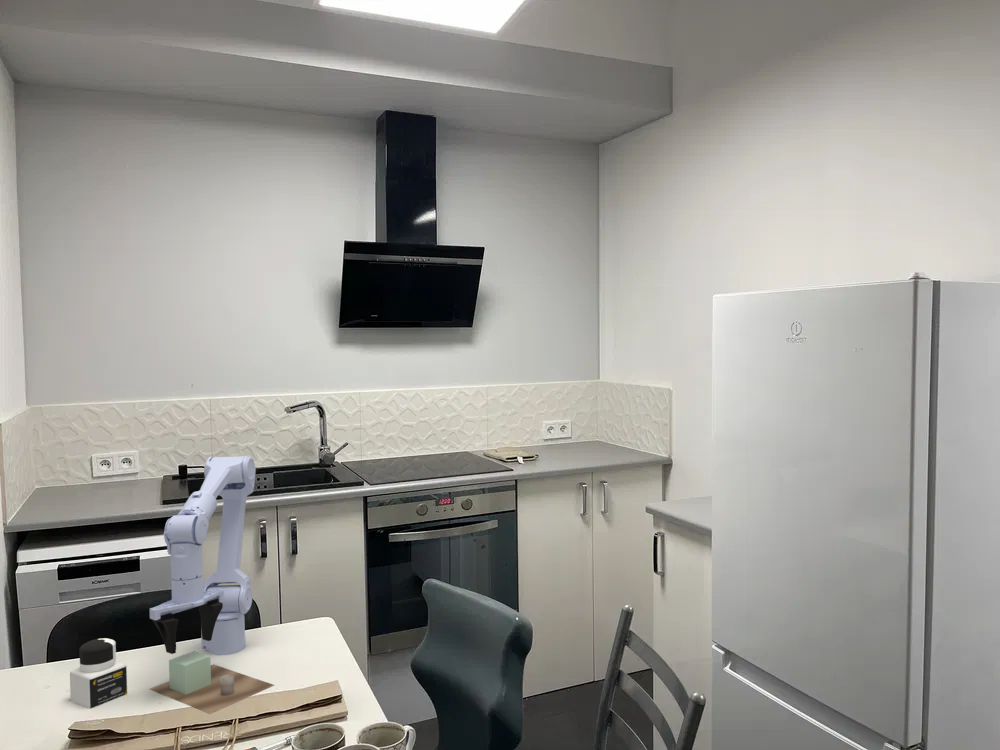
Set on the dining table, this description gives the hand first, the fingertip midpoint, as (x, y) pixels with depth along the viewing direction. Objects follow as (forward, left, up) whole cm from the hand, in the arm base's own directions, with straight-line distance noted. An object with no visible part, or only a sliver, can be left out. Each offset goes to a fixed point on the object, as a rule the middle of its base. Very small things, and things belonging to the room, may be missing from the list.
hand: (189, 646), depth 143 cm
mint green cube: (0, 0, -8) cm, 8 cm away
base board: (+4, +2, -9) cm, 10 cm away
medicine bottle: (-11, -12, -10) cm, 19 cm away
